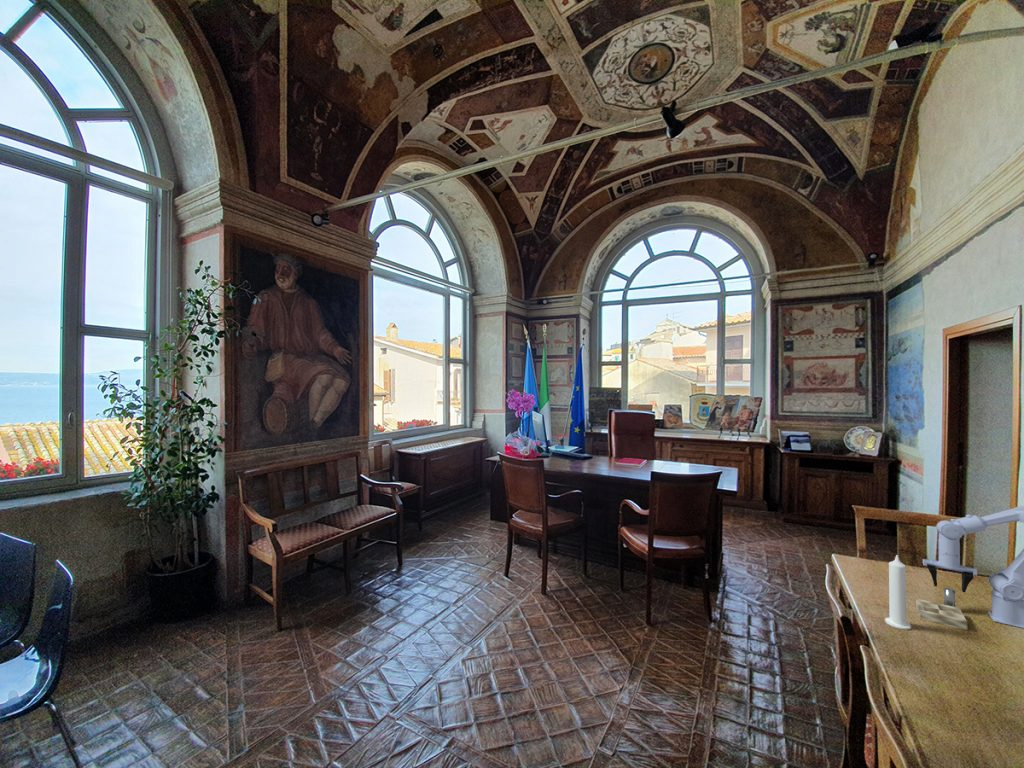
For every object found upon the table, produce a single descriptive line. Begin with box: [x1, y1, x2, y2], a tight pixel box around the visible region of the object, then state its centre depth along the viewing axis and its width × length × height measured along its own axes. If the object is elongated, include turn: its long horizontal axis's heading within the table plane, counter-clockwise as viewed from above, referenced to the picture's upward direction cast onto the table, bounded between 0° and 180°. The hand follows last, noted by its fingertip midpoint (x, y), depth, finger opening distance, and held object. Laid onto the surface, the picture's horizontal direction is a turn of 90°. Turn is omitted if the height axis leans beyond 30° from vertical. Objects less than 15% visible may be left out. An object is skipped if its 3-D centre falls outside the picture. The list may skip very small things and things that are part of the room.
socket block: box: [915, 598, 968, 631], centre depth 157 cm, size 12×12×3 cm
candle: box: [884, 554, 912, 631], centre depth 153 cm, size 7×7×25 cm
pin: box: [943, 586, 956, 607], centre depth 163 cm, size 3×3×8 cm
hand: (949, 588), depth 163 cm, fingers open, 7 cm apart
